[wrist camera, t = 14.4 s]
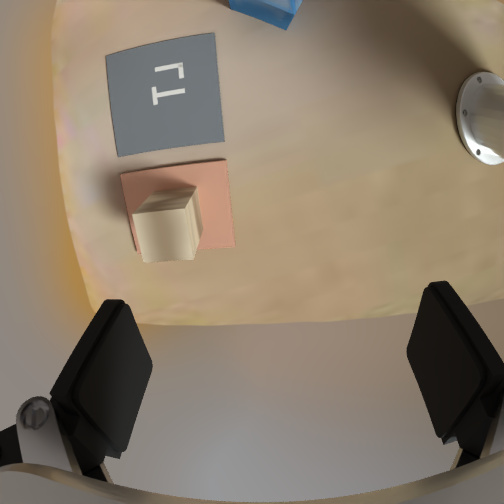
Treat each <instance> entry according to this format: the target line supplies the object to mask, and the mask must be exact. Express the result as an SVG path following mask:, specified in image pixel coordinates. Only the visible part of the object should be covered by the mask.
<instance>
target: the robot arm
mask: <svg viewBox="0 0 504 504" xmlns="http://www.w3.org/2000/svg"><path fill="white" fill-rule="evenodd" d="M456 117H457V125H458V130H459V134H460V136H461V139H462V142H463V143H464V145H465V147H466V149H467V150H468V152H469V153H470V154H471V155H472V156H473V157H474V158H475V159H477V160H478V161H480V162H482V163H485V164H488V165H497V164H500V163H502V162H504V80H503V79H501V78H500V77H499V76H497V75H495V74H493V73H489V72H478V73H474V74H472V75H471V76H469V77H468V78H467V79H466V80H465V81H464V83H463V85H462V86H461V88H460V91H459V94H458V99H457V104H456ZM407 358H408V360H409V363H410V365H411V368H412V370H413V373H414V375H415V378H416V380H417V382H418V385H419V388H420V391H421V393H422V396H423V398H424V401H425V404H426V407H427V409H428V412H429V415H430V418H431V421H432V424H433V427H434V429H435V433H436V435H437V436H438V437H439V438H441V439H442V442H443V444H444V445H445V444H447V443H451V442H454V441H458V444H459V446H460V447H459V449H458V452H457V454H456V457H455V459H454V461H453V464H452V466H451V468H450V471H446V472H444V473H440V474H437V475H434V476H431V477H428V478H425V479H421V480H418V481H414V482H410V483H407V484H403V485H399V486H395V487H391V488H387V489H382V490H377V491H372V492H367V493H362V494H356V495H350V496H343V497H336V498H328V499H319V500H308V501H294V502H269V503H268V502H261V503H258V502H255V503H254V502H253V503H252V502H250V503H249V502H226V501H212V500H201V499H192V498H184V497H176V496H169V495H163V494H158V493H152V492H147V491H142V490H137V489H132V488H128V487H124V486H120V485H116V484H114V483H113V481H112V479H111V478H110V475H109V473H108V471H107V469H106V467H105V464H104V462H103V461H104V458H105V455H106V456H110V457H113V458H118V459H120V456H121V453H122V452H124V451H125V450H126V449H127V446H128V443H129V439H130V437H131V433H132V430H133V427H134V423H135V420H136V417H137V414H138V411H139V408H140V405H141V402H142V399H143V396H144V393H145V390H146V387H147V384H148V381H149V378H150V375H151V372H152V367H153V366H152V360H151V358H150V355H149V353H148V351H147V348H146V346H145V344H144V342H143V339H142V336H141V334H140V332H139V329H138V327H137V324H136V322H135V319H134V316H133V314H132V311H131V309H130V306H129V305H128V304H125V302H124V301H123V300H121V299H107V300H105V301H104V302H103V304H102V305H101V307H100V308H99V310H98V311H97V313H96V314H95V316H94V318H93V319H92V321H91V322H90V324H89V326H88V327H87V329H86V331H85V332H84V334H83V335H82V337H81V339H80V340H79V342H78V344H77V345H76V347H75V349H74V350H73V352H72V354H71V356H70V357H69V359H68V361H67V363H66V364H65V366H64V368H63V370H62V372H61V373H60V375H59V377H58V379H57V380H56V382H55V384H54V386H53V388H52V390H51V391H50V395H51V396H52V398H51V399H50V401H49V400H48V399H47V398H45V397H42V396H36V397H32V398H30V399H28V400H27V401H25V402H24V403H23V404H22V405H21V407H20V408H19V410H18V413H17V415H16V424H15V425H13V426H11V427H8V428H6V429H4V430H3V431H0V504H504V363H503V361H502V359H501V358H500V356H499V354H498V353H497V351H496V350H495V348H494V347H493V345H492V343H491V342H490V340H489V339H488V337H487V336H486V334H485V333H484V331H483V330H482V328H481V327H480V325H479V324H478V322H477V321H476V319H475V318H474V317H473V315H472V314H471V312H470V311H469V309H468V308H467V307H466V305H465V304H464V303H463V301H462V300H461V298H460V297H459V296H458V294H457V293H456V292H455V290H454V289H453V288H452V286H451V285H450V284H449V283H448V282H447V281H438V282H431V283H430V284H429V285H428V287H426V288H425V289H424V291H423V295H422V299H421V302H420V306H419V310H418V313H417V317H416V320H415V324H414V327H413V330H412V333H411V337H410V340H409V343H408V346H407Z"/></svg>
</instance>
